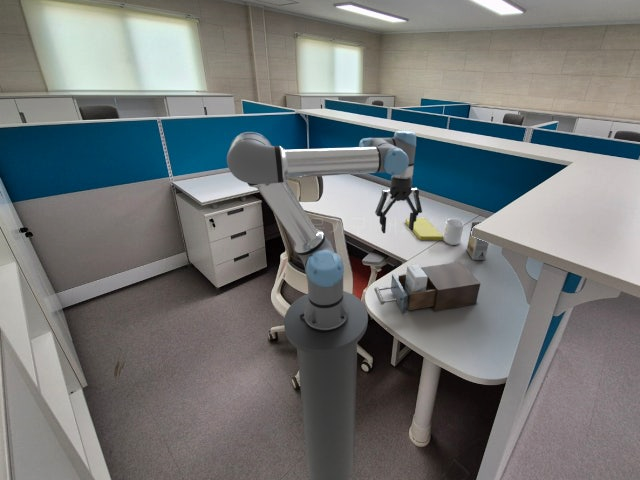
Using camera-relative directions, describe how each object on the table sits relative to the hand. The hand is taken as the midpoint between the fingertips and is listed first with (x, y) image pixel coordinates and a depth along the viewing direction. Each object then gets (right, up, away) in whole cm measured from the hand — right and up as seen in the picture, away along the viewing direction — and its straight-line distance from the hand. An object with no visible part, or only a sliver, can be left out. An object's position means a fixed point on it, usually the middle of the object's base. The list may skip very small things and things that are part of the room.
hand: (397, 230), depth 117 cm
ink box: (+6, -25, -1) cm, 26 cm away
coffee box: (+41, -14, +32) cm, 54 cm away
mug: (+32, -8, +45) cm, 56 cm away
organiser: (+20, -26, +3) cm, 33 cm away
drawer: (+4, -26, -1) cm, 27 cm away
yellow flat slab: (+19, -3, +53) cm, 57 cm away
